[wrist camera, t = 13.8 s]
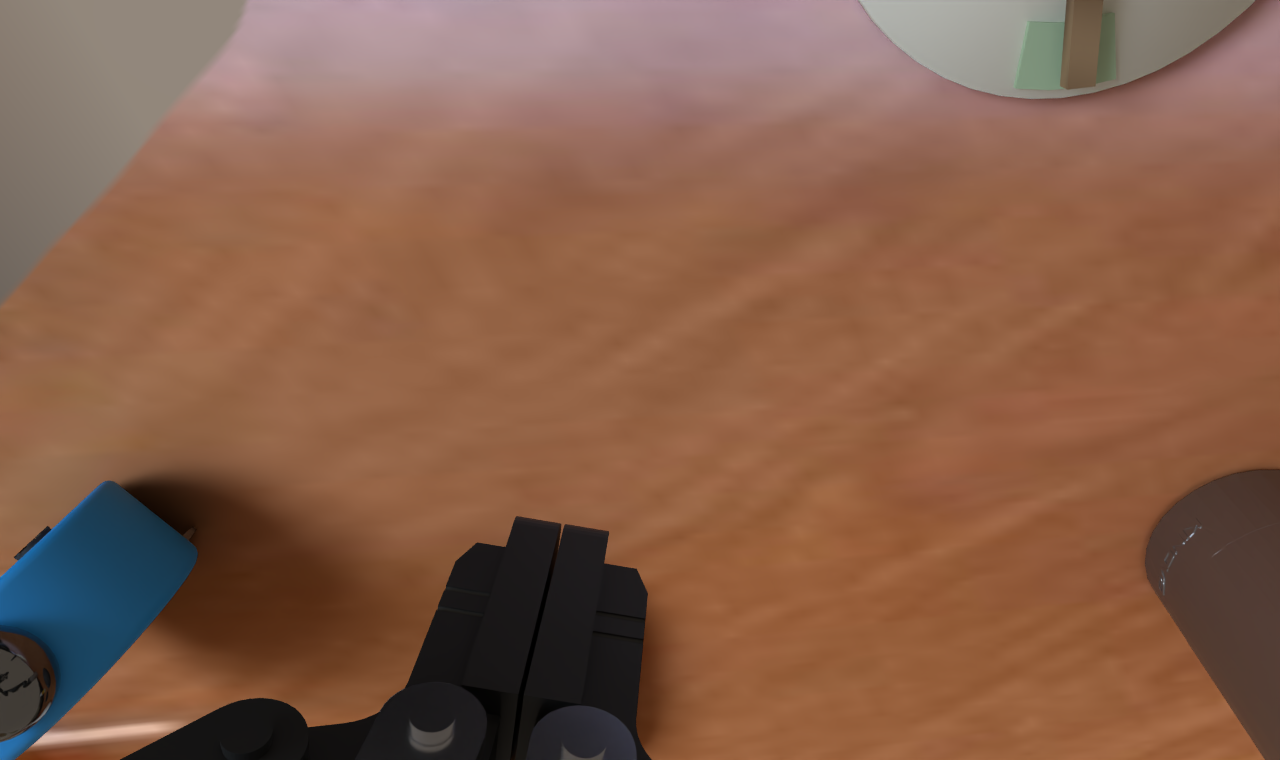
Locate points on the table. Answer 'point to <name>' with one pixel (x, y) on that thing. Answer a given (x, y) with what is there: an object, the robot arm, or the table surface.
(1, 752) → the alarm clock
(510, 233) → the table surface
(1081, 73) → the dial
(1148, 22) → the plate
